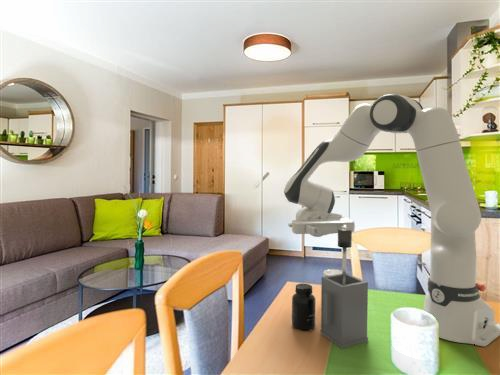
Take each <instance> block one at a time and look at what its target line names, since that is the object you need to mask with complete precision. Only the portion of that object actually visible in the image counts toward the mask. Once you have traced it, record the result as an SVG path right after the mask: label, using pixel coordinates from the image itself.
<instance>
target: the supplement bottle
mask: <svg viewBox="0 0 500 375" xmlns="http://www.w3.org/2000/svg"><path fill="white" fill-rule="evenodd" d="M294 291H295V293H294V294H293V295H292V297H291V325H292V327H293V328H294V329H296V330H298V331H303V332H307V331H308V332H310V331H311V330H313V329H315V327H316V297H315V295H314V294H313V285H311V284H309V283H298V284H295V290H294Z"/></svg>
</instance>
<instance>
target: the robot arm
mask: <svg viewBox="0 0 500 375" xmlns="http://www.w3.org/2000/svg"><path fill="white" fill-rule="evenodd" d="M381 132H385V133H386V132H387V133H391V134H407V133H408V134H409V135H410V137H411V138H412V141H413V144H414V149H415V152H416V156H417V157H416V158H417V161H418V165H419V169H420V173H421V177H422V182H423V186H424V189H425V194H426V197H427V198H426V199H427V202H428V203H427V204H428V207H429V211H430V256H429V257H430V258H429V259H430V260H429V261H430V262H429V277H428V279H427V284H426V285H427V293H425V297H424V302H423V303H424V305H423V310H424V311H426V312H428V313H430V314H432V315H433V316H434V317H435V318H436V320H437V321H438V323H439V337H438V338H440V339H443V340H446V341H450V342H455V343H460V344H461V343H463V344H471V345H474V344H475V346H480V347H487V346H488V345H489V344H491V343H492V342H493V341H494V340H496V339H498V337H500V323H499V322H496V321H495V310H494V309H493V307H492V306H491V305H489V304H488V303H487V302H486V301H485V300H483V299H482V298H481V295H480V292H485V290H486V285H485V284H483V283H479V282H476V281H477V261H478V260H477V258H478V257H477V246H476V245H477V244H476V231H477V230H478V228H479V227H480V225H481V222H482V212H481V210H480V206H479V202H478V198H477V196H476V193H475V189H474V186H473V181H472V180H471V177H470V174H469V172H468V166H467V163H466V159H465V155H464V151H463V148H462V143H461V141H460V137H459V132H458V130H457V128H456V125H455V123H454V121H453V118H452V117H451V114H450V113H449V111H448V110H447V109H445V108H444V107H439V106H438V107H437V106H436V107H435V106H434V107H428V108H425V109H424V108H423V106H422V104H421V103H420V102H419V101H418V100H416V99H413V98H411V97H409V96H406V95H401V94H397V93H391V94H390V93H389V94H383V96H382V95H381V96H380V97H378V98H377V99H376V100H375V101H374V102H373V103H372V104H369V103H361V104H359V105H357V106H356V107H355V108H354V109H353V110H352V111H351V113H350V114H349V115H348V116H347V118H346V119H345V121H344V122H343V123H342V125H341V127H340V129H339V130H338V132H337V133H336V134H335V135H334V136H333V137H331V138H330V139H327V140H324V141H323V140H322V142H321V143H319V145H317V147H316V148H315V149H314V150H313V151H312V152H311V153H310V155H308V157H307V159H306V160H305V161H304V162H303V163H302V165H301V167H299V169H298V170H297V172H295V173H294V174H293V175H292V176H291V177H290V179H289V180H288V181H287V182H286V184H285V187H284V191H283V193H284V196H285V198H286V200H287V201H288V203H293V204H297V205H299V206H302V208H300V209H298V210H297V212H296V213H295V219H294V220H292V222H291V223H288V227H289V228H291V230H292V233H293V234H294V235H305V234H306V235H311V236H312V237H316V238H320V237H324V236H328V235H332V234H338V229H349V230H352V234H354V232H355V229H356V225H355V221H354V220H353V219H351V218H348V217H345V216H342V214H341V213H333V212H332V211H333V209H334V206H335V204H336V203H335V202H336V197H335V193H334V191H333V189H331V188H330V187H327V186H325V185H322V184H320V183H317V182H314V181H311V180H309V179H310V178H311V176H312V175H313V174H314V173H315V171H316V170H317V169H318V167H320V166H321V165H322V164H325V163H329V162H330V163H331V162H332V163H333V162H340V163H349V162H355V161H357V160H358V159H360V158H362V157H363V155H364V154H365V153H366V152H367V151H368V149H369V147H370V145H371V144H372V142H373V141H374V139H375V138H376V136H377V135H378V134H379V133H381Z"/></svg>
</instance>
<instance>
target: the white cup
mask: <svg viewBox="0 0 500 375" xmlns="http://www.w3.org/2000/svg"><path fill="white" fill-rule="evenodd" d="M337 274H342V270H341V269H336V268H335V269H332V268H331V269H325V270H324V271H323V277H326V276H331V275H337Z"/></svg>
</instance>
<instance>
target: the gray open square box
mask: <svg viewBox="0 0 500 375" xmlns="http://www.w3.org/2000/svg"><path fill="white" fill-rule="evenodd" d="M346 284H347V285H342V274H337V275H331V276H326V277H324V276H321V286H320V288H321V290H320V291H321V298H320V299H321V301H320V302H321V303H320V308H321V310H320V320H321V321H320V322H321V323H320V329H319V333H320V334H321V335H322V336H324V337H325V338H326V339H328V340H329V341H330V342H332V343H333V344H334V345H335V346H337V347H338V348H339V349H340V350H341V349H342V350H343V349H345V348H349V347H352V346H355V345H359V344H362V343H365V342H366V343H367V342H368V341H369V337H368V304H369V303H368V301H369V300H368V298H369V296H368V295H369V283H368V281H366V280H365V279H364V280H363V279H362V278H359V277H356V276H355V275H351V274H349V273H347V272H346Z"/></svg>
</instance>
